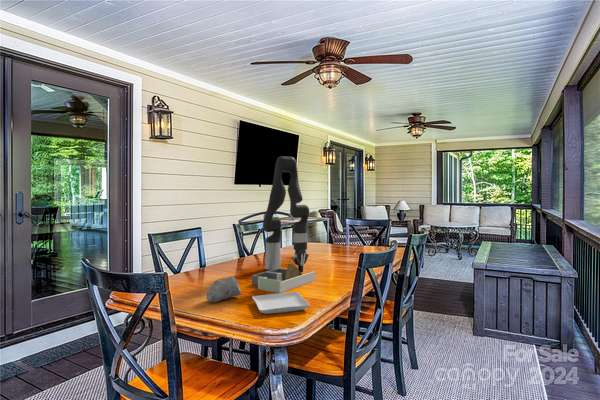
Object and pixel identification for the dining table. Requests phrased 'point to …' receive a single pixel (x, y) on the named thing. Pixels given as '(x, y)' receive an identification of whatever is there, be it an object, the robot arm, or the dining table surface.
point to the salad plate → (280, 302)
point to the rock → (292, 272)
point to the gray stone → (223, 289)
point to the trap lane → (280, 280)
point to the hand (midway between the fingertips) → (300, 272)
